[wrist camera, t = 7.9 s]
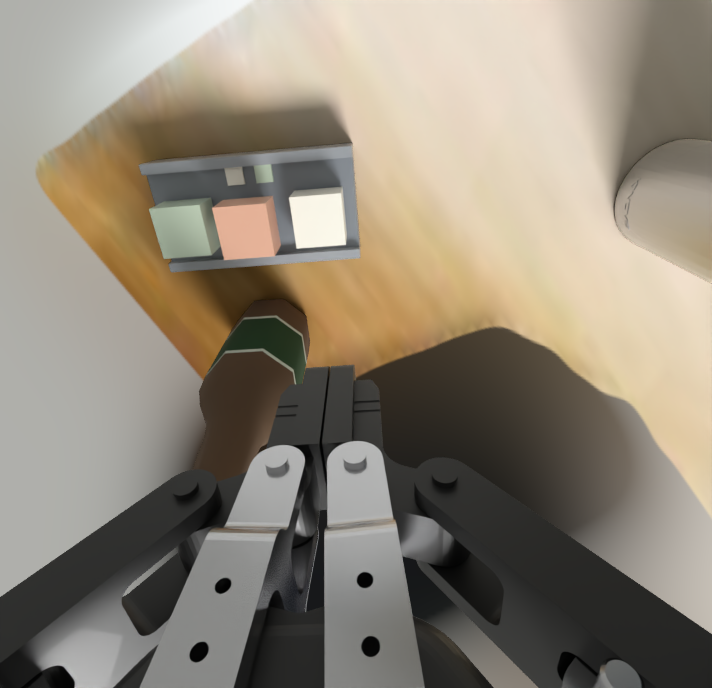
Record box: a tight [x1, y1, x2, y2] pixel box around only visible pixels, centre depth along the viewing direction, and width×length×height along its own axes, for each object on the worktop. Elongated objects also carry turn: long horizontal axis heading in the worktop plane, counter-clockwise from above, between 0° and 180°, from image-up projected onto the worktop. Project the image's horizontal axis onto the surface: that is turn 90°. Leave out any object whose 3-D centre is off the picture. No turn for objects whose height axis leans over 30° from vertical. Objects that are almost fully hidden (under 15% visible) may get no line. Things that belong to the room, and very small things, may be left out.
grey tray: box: [139, 143, 360, 272], centre depth 37 cm, size 17×9×5 cm, turn 95°
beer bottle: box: [192, 299, 310, 481], centre depth 35 cm, size 8×8×24 cm
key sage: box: [149, 198, 221, 259], centre depth 36 cm, size 4×4×3 cm
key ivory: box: [289, 187, 347, 249], centre depth 35 cm, size 4×4×3 cm
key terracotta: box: [212, 196, 281, 260], centre depth 34 cm, size 4×4×3 cm
